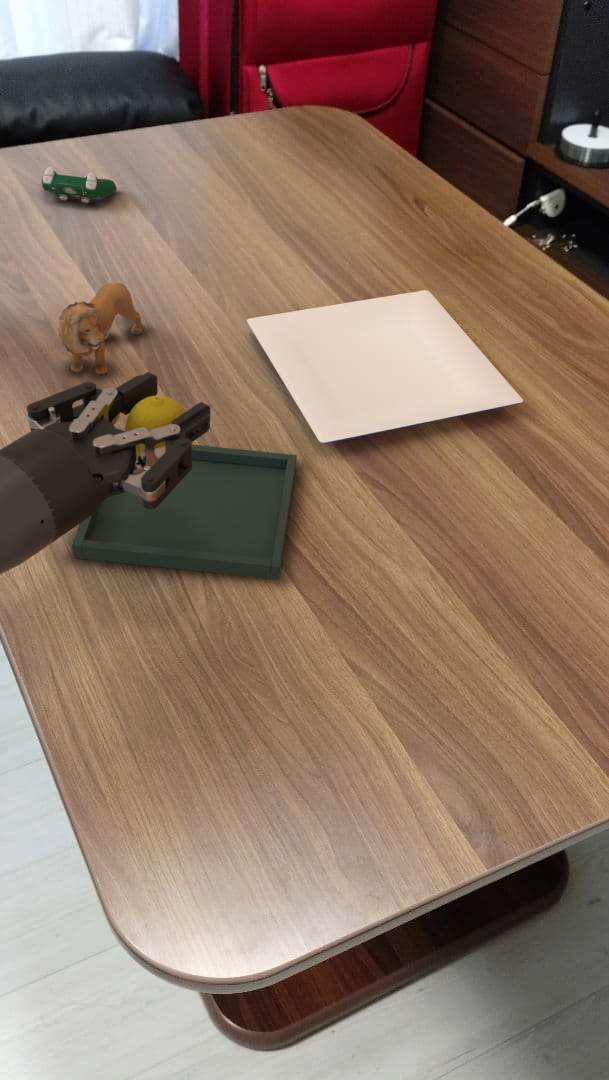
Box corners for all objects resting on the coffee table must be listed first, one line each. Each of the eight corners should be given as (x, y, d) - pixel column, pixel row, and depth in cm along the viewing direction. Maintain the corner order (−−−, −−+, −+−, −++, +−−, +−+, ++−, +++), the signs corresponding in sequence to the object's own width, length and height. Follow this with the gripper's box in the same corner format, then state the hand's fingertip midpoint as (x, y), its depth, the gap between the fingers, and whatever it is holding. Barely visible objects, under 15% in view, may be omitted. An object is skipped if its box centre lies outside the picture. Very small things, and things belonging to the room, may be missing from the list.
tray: (73, 558, 83) (71, 545, 82) (113, 449, 93) (111, 436, 92) (279, 579, 82) (280, 566, 81) (296, 467, 93) (296, 454, 92)
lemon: (148, 505, 80) (143, 428, 74) (116, 467, 83) (108, 390, 77) (206, 481, 82) (205, 405, 76) (172, 445, 85) (169, 369, 79)
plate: (245, 333, 108) (245, 317, 107) (425, 303, 115) (428, 287, 113) (319, 458, 94) (320, 441, 92) (520, 415, 100) (525, 399, 99)
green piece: (47, 203, 131) (32, 187, 125) (51, 175, 131) (36, 158, 125) (114, 212, 130) (101, 196, 124) (118, 184, 130) (106, 167, 124)
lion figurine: (105, 398, 99) (96, 322, 92) (54, 390, 99) (43, 313, 93) (149, 321, 109) (144, 247, 102) (104, 314, 109) (96, 240, 103)
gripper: (80, 511, 64) (248, 396, 74) (-59, 418, 70) (114, 323, 79) (90, 588, 69) (246, 471, 79) (-39, 495, 75) (121, 397, 85)
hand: (179, 397), depth 79 cm, fingers closed on lemon, 5 cm apart
